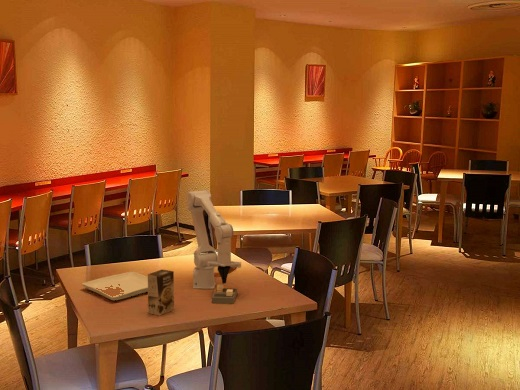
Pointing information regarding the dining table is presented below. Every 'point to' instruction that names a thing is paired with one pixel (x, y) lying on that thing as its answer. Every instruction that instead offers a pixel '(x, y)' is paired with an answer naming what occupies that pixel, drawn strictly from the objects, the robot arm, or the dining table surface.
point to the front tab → (229, 292)
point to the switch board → (224, 296)
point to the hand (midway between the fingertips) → (224, 282)
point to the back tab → (220, 287)
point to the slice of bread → (217, 274)
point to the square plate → (128, 283)
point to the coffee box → (160, 292)
